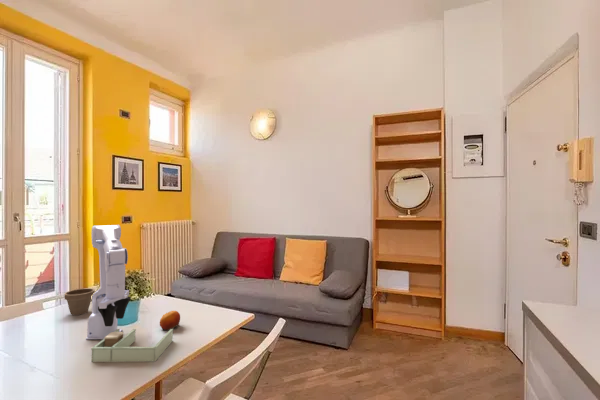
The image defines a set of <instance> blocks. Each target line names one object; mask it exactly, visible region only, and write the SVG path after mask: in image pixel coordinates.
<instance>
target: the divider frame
mask: <svg viewBox="0 0 600 400" xmlns="http://www.w3.org/2000/svg"><path fill="white" fill-rule="evenodd" d="M119 331H120V328H117V330H115V331H114V332H119ZM136 331H137V329H136V328H133V329H132V330H131V331H129V332H128V333H126V334H125V335H123V338H122V339H121V340H119V341H118V342H117V343H116V344H114V345H113V346H112V347H105V339H101V340H100V341H99V342H98V343H96V344H95V345H93V346H92V347H91V363H93V362H94V363H95V362H96V363H99V362H100V363H101V362H103V363H104V362H105V363H107V362H108V363H109V362H110V363H111V362H112V363H115V362H116V363H117V362H118V363H119V362H120V363H121V362H124V363H125V362H126V363H127V362H156V361H157V360H158V359H159V358H160V357H161V355H162V354H163V353H164V352H165V351H166V349H168V347H169V346H170V344H171V343H172V342H173V341H174V340H173V339H174V338H173V335H174V334H173V333H174V329H170V330H167V332H166V334H164V335H163V337H162V338H161V339H160V340H159V341H158V342H157V343H156V344H155V345H154V346H131V345H132V344H134V342H136Z"/></svg>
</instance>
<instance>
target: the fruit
mask: <svg viewBox="0 0 600 400" xmlns="http://www.w3.org/2000/svg"><path fill="white" fill-rule="evenodd" d="M180 321H181V314H180V313H179V311H177V310H170V311H168V312H166V313H164V314H162V315H161V318H160V320H159V327H160V328H161V329H163V330H164V331H169V330H170V329H173V330H174V329H175V328H176V327H180Z"/></svg>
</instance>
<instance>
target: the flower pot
mask: <svg viewBox="0 0 600 400" xmlns="http://www.w3.org/2000/svg"><path fill="white" fill-rule="evenodd" d="M94 292H96V291H95V289H94V288H89V287H88V288H78V289H73V290H69V291H67V292H64V300H66V302H67V306H68V310H69V314H70V315H73V316H77V315H78V316H79V315H83V314H86V313H88V311H89V309H90V305H91V303H92V299H91V295H92V294H93V293H94Z"/></svg>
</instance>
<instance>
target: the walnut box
mask: <svg viewBox="0 0 600 400" xmlns="http://www.w3.org/2000/svg"><path fill="white" fill-rule="evenodd" d="M123 337H124V332H123V331H121V332H111V333H110V334H108V335H107V336H106V337H105V338H104V339H105V347H112V346H113V345H114V344H116V343H117V342H118V341H119V340H121V339H122V338H123Z"/></svg>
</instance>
